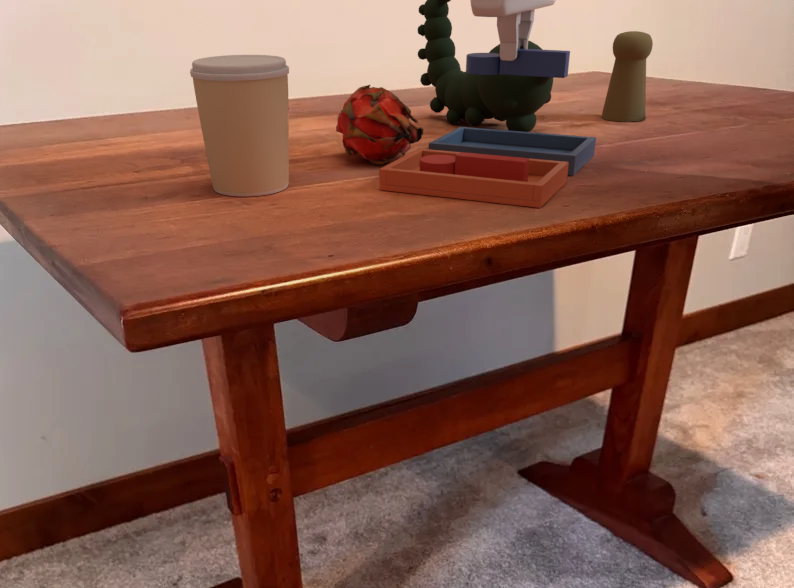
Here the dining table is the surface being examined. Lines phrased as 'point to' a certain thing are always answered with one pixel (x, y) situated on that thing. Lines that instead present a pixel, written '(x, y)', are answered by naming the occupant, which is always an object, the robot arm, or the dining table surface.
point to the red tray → (474, 181)
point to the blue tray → (519, 145)
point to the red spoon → (478, 166)
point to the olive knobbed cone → (628, 78)
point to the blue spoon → (521, 63)
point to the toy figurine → (476, 80)
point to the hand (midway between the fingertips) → (513, 58)
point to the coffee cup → (244, 122)
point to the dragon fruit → (376, 125)
